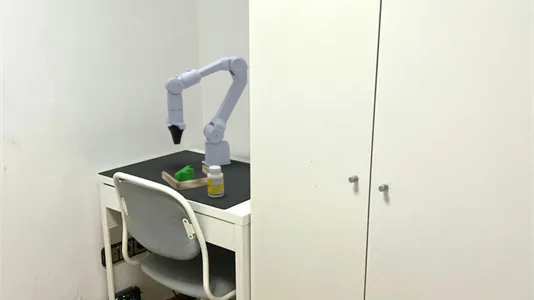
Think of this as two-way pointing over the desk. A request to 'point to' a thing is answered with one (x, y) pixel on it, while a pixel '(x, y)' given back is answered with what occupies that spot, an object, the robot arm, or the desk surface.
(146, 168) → the desk surface
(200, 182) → the birch bay
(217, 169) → the supplement bottle
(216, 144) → the robot arm
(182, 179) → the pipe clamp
